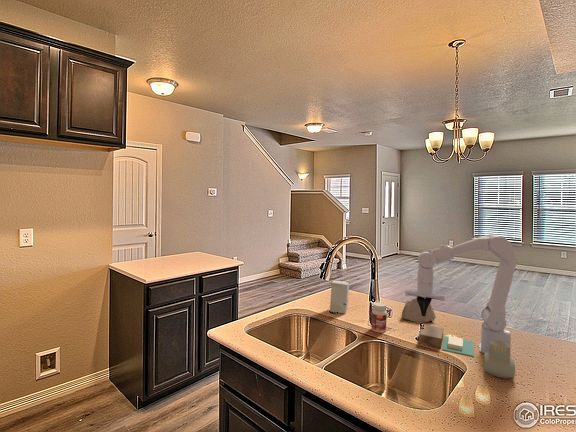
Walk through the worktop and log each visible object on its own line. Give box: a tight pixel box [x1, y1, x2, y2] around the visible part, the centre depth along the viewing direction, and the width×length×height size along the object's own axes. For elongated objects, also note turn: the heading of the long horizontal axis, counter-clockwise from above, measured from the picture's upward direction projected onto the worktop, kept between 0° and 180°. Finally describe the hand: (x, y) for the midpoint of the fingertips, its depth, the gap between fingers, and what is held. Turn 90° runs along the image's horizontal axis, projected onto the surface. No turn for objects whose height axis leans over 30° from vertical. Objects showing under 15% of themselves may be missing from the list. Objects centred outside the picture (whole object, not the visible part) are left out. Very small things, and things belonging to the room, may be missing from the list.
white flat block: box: [448, 335, 464, 350], centre depth 131 cm, size 5×8×2 cm, turn 152°
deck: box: [418, 324, 444, 350], centre depth 135 cm, size 8×12×4 cm, turn 152°
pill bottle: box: [371, 302, 388, 333], centre depth 145 cm, size 6×6×11 cm
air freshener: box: [483, 340, 516, 379], centre depth 110 cm, size 11×8×10 cm
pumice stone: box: [401, 297, 437, 323], centre depth 158 cm, size 15×8×10 cm, turn 72°
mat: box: [441, 335, 475, 358], centre depth 130 cm, size 10×14×1 cm
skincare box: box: [329, 280, 350, 315], centre depth 168 cm, size 8×6×15 cm
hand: (423, 315), depth 134 cm, fingers closed
